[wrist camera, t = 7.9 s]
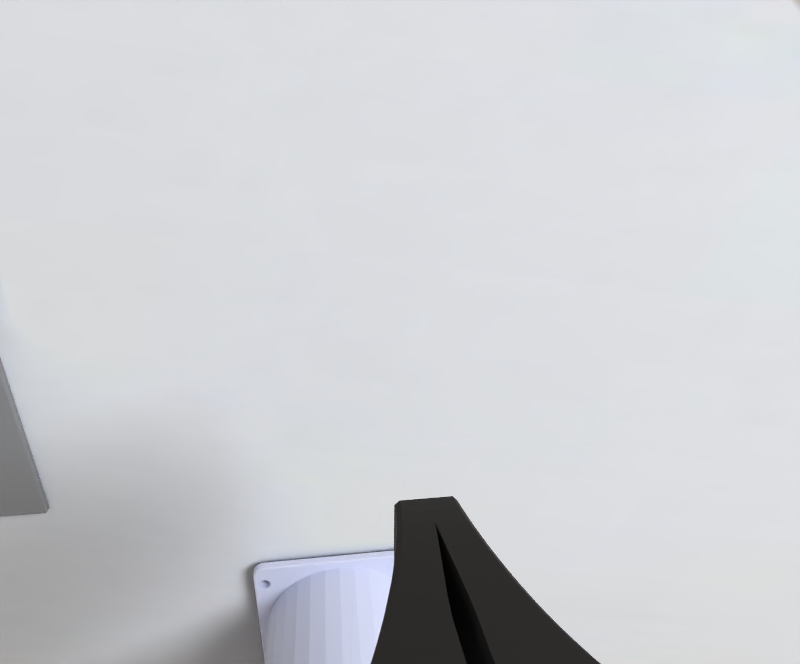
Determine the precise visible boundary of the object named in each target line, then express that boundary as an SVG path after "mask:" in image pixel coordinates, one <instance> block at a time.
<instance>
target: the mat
mask: <svg viewBox="0 0 800 664" xmlns="http://www.w3.org/2000/svg"><path fill="white" fill-rule="evenodd" d="M48 509H49V506H48V503H47V500H46V497H45V494H44V491H43V487H42V484H41V481H40V478H39V475H38V472H37V469H36V466H35V463H34V460H33V457H32V454H31V451H30V448H29V445H28V442H27V439H26V435H25V432H24V429H23V426H22V423H21V420H20V417H19V414H18V411H17V408H16V405H15V402H14V399H13V396H12V393H11V390H10V387H9V384H8V380H7V377H6V374H5V371H4V368H3V365H2V362H1V359H0V516H13V515H25V514H38V513H46V512H47V510H48Z"/></svg>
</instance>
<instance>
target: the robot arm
mask: <svg viewBox="0 0 800 664" xmlns="http://www.w3.org/2000/svg"><path fill="white" fill-rule="evenodd" d="M264 580H267V581H266V582H265V581H264ZM253 581H254V588H255V595H256V602H257V610H258V617H259V624H260V631H261V639H262V646H263V653H264V660H265V662H264V664H600V663H599V662H598V661H597V660H595V659H594V658H593V657H592V656H591V655H590V654H589V653H588V652H587V651H585V650H584V649H583V648H582V647H581V646H580V645H579V644H578V643H577V642H576V641H574V640H573V639H572V638H571V637H570V636H569V635H568V634H567V633H566V632H565V631H564V630H563V629H562V628H561V627H560V626H559V625H558V624H557V623H556V622H555V621H554V620H553V619H552V618H551V617H550V616H549V615H548V614H547V613H546V612H545V611H544V610H543V609H542V608H541V607H540V606H539V605H538V604H537V603H536V602H535V600H534V599H533V598H532V597H531V596H530V595H529V594H528V593H527V592H526V590H525V589H524V588H523V587H522V586H521V585H520V584H519V583H518V581H517V580H516V579H515V578H514V577H513V576H512V574H511V573H510V572H509V571H508V570H507V568H506V567H505V566H504V565H503V563H502V562H501V561H500V560H499V558H498V557H497V556H496V555H495V553H494V552H493V551H492V550H491V548H490V547H489V546H488V544H487V543H486V542H485V540H484V539H483V538H482V536H481V535H480V533H479V532H478V531H477V529H476V528H475V527H474V525H473V524H472V522H471V521H470V519H469V518H468V516H467V515H466V513H465V512H464V510H463V509H462V507H461V506H460V504H459V503H458V501H457V500H456V499H455V498H454V497H453V496H451V497H439V498H427V499H414V500H402V501H399V502H398V503H396V504H395V509H394V551H383V552H372V553H362V554H351V555H341V556H330V557H320V558H309V559H298V560H288V561H277V562H267V563H261V564H258V565H257V566H256V567H255V568H254V573H253Z"/></svg>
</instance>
